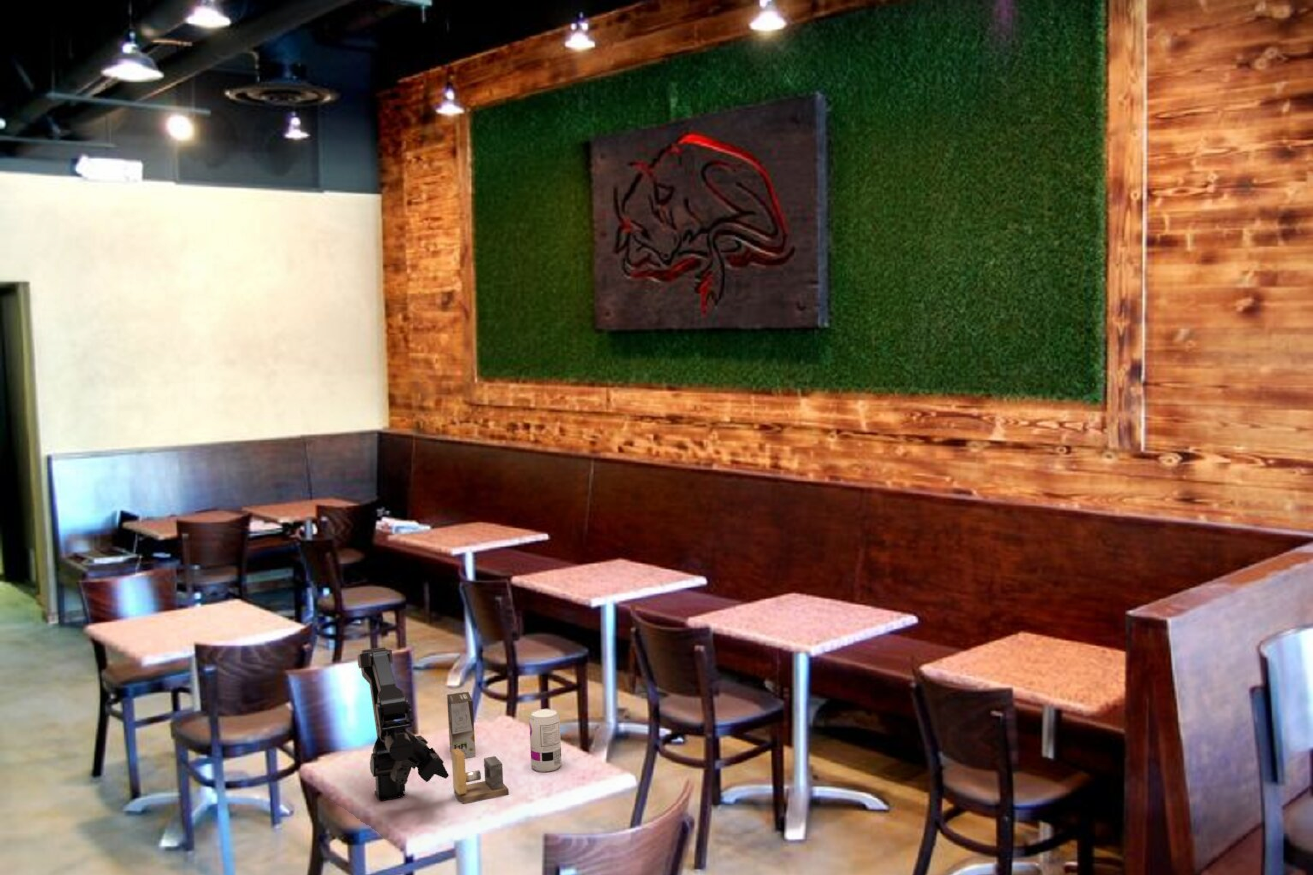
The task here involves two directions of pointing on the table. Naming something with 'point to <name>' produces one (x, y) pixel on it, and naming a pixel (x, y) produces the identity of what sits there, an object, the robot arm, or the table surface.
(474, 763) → the table surface
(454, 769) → the tan wooden tall block
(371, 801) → the table surface
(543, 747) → the supplement can
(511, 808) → the table surface
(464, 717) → the coffee box
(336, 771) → the table surface
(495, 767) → the peg insertion fixture
